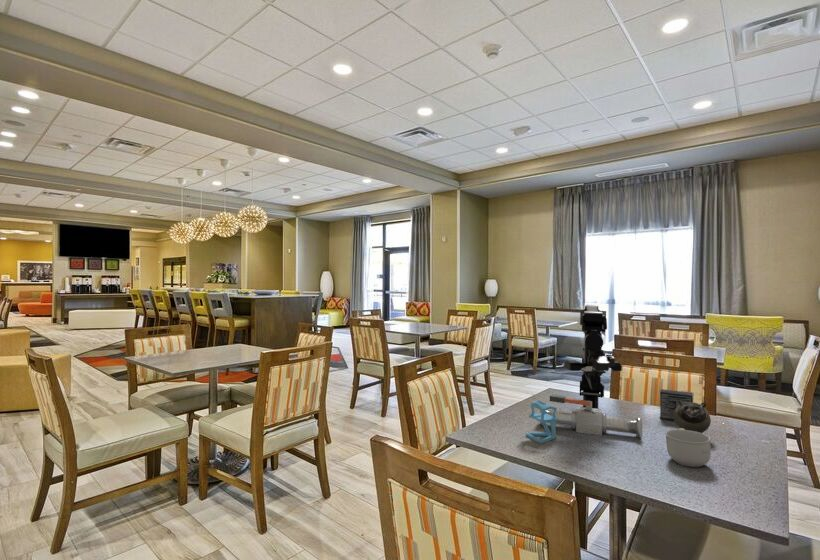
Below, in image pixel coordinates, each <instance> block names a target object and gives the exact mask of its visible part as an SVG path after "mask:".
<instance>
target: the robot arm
mask: <svg viewBox="0 0 820 560" xmlns="http://www.w3.org/2000/svg"><path fill="white" fill-rule="evenodd" d="M579 314H580V315H579V325H580V326H581V331H582V332H583V333H584V346H583V347H582V351H584V355H583V357H584V358H582V362H580V361H577V360H574V359H570V360H569V359H568V360H567V359H566V360H565V362H564V369H566V370H568V371H571V372H579V371H581V372H583V373H582V375H581V379H580V380H579V397H581V396H582V400H585V401H592V408H595V409H600V408H599V398H604V397H605V385H604V383H603V382H602V381H601V379H602V378H601V376H602V375H603V374H607V372H608V371H609V370H610V369H611V370H612V371H613V372H622V370H623V366H622V363H620V362H619V361H616V360H615V357H614V356H613V355H608V356H605V352H604V350H603V349H602V348H603V346H604V339H603V334H602V333H603V332H604V333H606V330H608V322H607V317H606V315H605V314H604V313H603V311H601V310H600V309H599V305H597V304H586V305H584V309H582V310H581V311H580V313H579ZM582 407H586V405H582Z"/></svg>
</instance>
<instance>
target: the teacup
mask: <svg viewBox="0 0 820 560" xmlns="http://www.w3.org/2000/svg"><path fill="white" fill-rule="evenodd" d="M664 436H665V441H666V442H665V443H666V451H667V453H668V455H669V457H670V458H671V459H672V460H674V462H676V463H677V464H679V465H681V466H685V467H690V468H691V467H692V468H700V467H702V466H704V465H706V464H707V463H709V461H710V459H711V450H712V449H711V440H712V439H711V437H710V436H709V435H707V434H705V433H704V432H703V433H699V432H696V431H690V430H685V429H683V428H680V427H679V428H678V429H669V430H667V431H666V432H665V435H664Z"/></svg>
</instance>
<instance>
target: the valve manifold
mask: <svg viewBox="0 0 820 560" xmlns="http://www.w3.org/2000/svg"><path fill="white" fill-rule="evenodd" d="M553 411H554V410H553V409H547V410H546V413H547V414H549V415H551V416H552V414H553ZM539 413H541V411H540V410H539ZM555 417H556V418H558V421H557V422H556V425H563V426H570V427H571V429H572V430H575V433H580V434H587V435H595V436H601V437H602V435H603V434H607V431H609V432H616V433H617V432H618V433H625V434H633V435H635V437H636V438H637V439H642V438H643V421H642V420H643V419H642V418H641V417H638V416H637V417H636V416H635V419H629V418H628V419H626V418H620V417H619V418H618V417H611V416H610V417H609V416H607V414H606V413H603V412H602V409H601V408H599V409H595V408H592V410H586V407H583V406H576V409H572V410H571V412H568V411H561V410H560V411H558V410H556V412H555ZM539 425H540V426H543V424H542V423H541V422H539Z"/></svg>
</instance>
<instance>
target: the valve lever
mask: <svg viewBox="0 0 820 560" xmlns="http://www.w3.org/2000/svg"><path fill="white" fill-rule="evenodd" d="M549 402H552V403H561V404H565V403H566V404H567V403H568V404H573V405H574V404H575V405H579V406H583V405H586V410H592V401H585V400H583V399H577V398H571V397H566V396H563V395H556V394H550V395H549Z"/></svg>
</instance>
